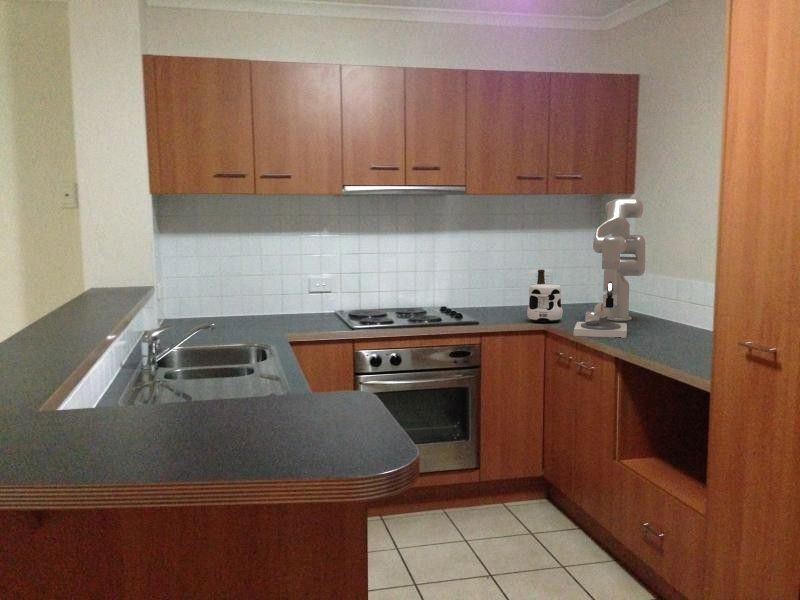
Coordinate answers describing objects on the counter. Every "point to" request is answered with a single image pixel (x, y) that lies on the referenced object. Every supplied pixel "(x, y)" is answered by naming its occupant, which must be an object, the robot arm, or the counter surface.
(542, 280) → the beer bottle
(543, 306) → the milk container
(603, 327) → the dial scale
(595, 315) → the cylinder
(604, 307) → the cylinder
